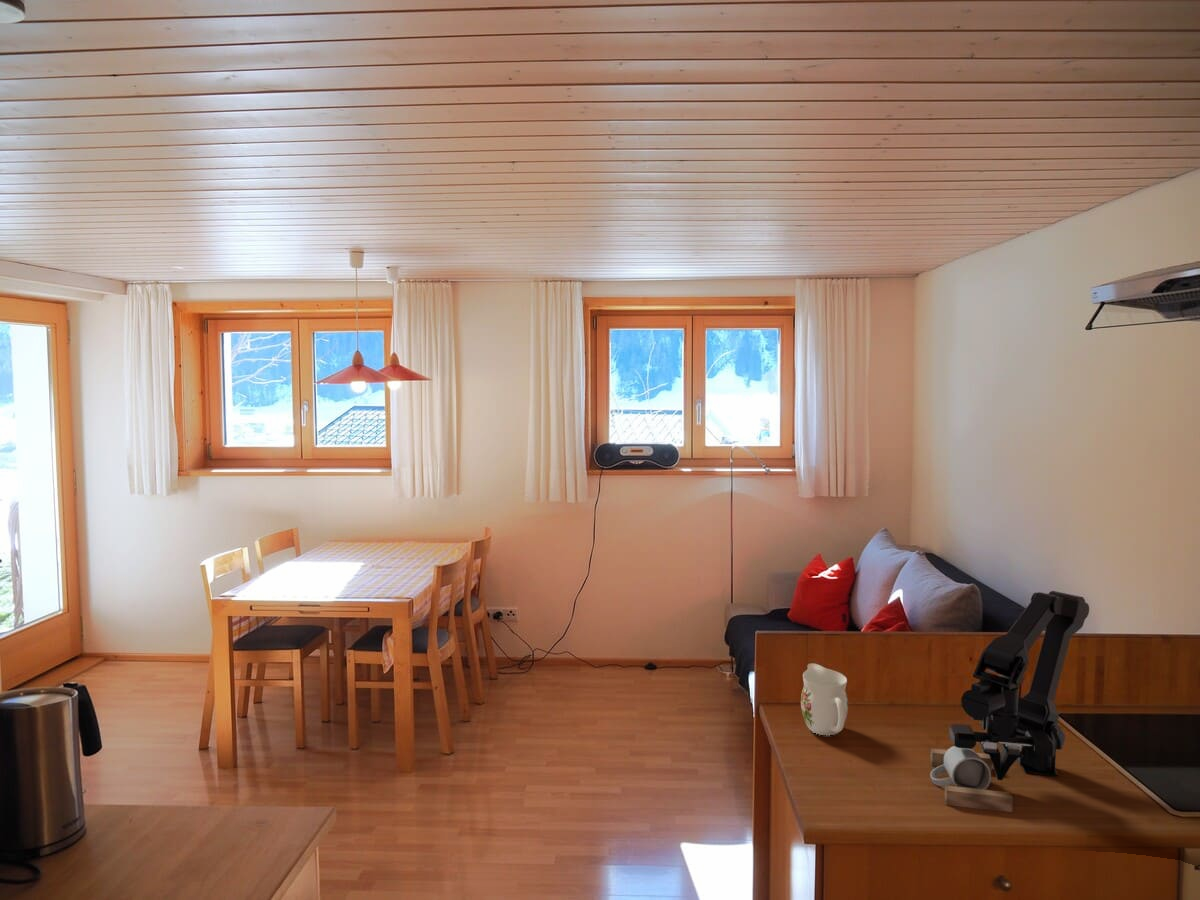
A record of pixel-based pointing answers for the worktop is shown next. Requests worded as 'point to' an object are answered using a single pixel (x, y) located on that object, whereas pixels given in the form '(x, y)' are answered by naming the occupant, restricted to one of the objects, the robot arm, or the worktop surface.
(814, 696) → the pitcher
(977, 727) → the worktop surface
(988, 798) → the mug dock
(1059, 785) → the worktop surface
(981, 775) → the ceramic mug
